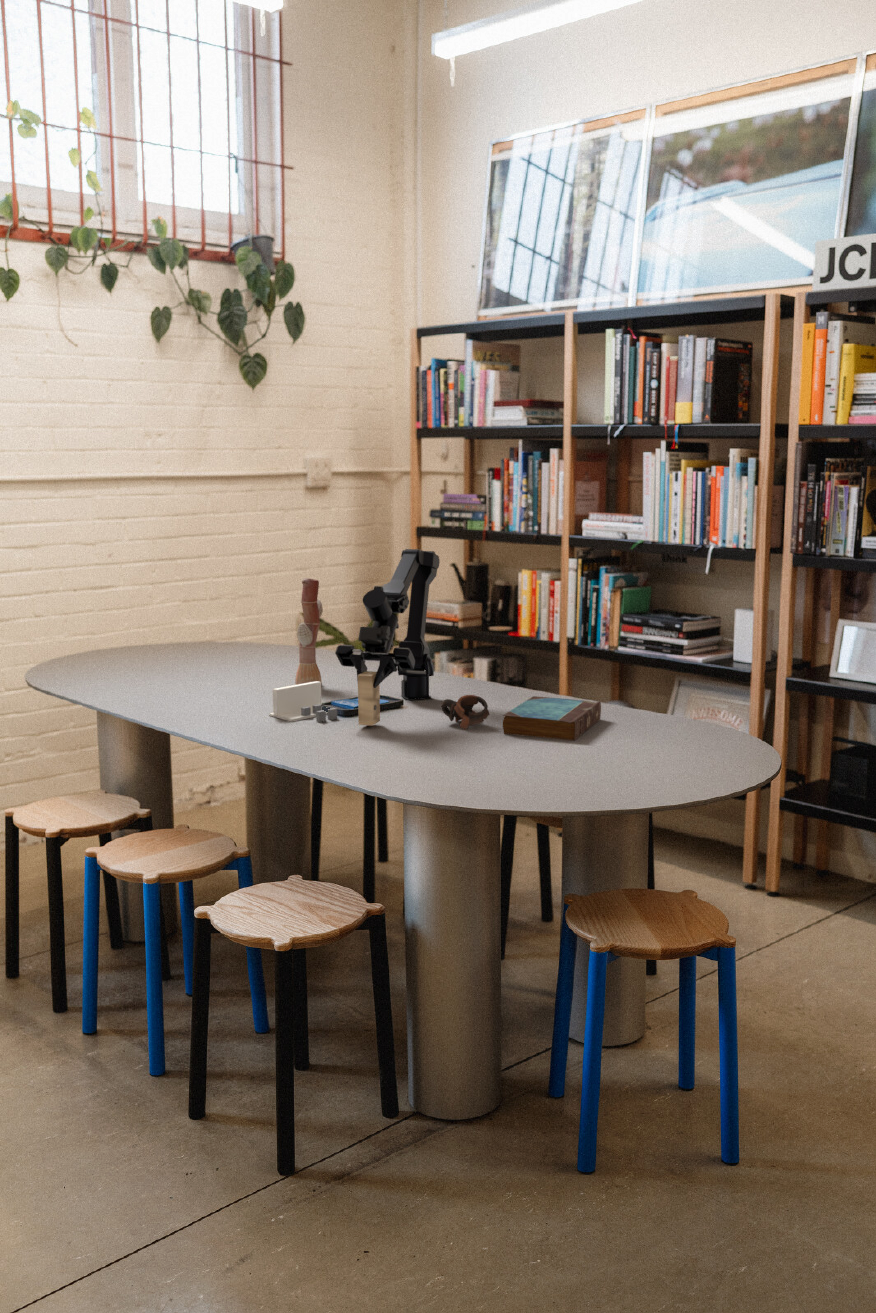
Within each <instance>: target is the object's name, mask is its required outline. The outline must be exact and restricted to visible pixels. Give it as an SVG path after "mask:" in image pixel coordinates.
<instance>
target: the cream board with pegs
mask: <svg viewBox="0 0 876 1313" xmlns="http://www.w3.org/2000/svg"><path fill="white" fill-rule="evenodd" d="M272 707H273V708H272V709H273V711H272V712H270V713H268V716H269V715H270V716H269V717H272V716H273V718H277V719H281V720H284V721H289V722H296V721H302V720H306V719H307V720H308V719H311V718H316V719H315V720H316V723H317V722H318V723H322V721H323V722H326V721H327V720H330V719H331V721H332V719H333V720H337V719H338V708H337V707H331V708H330V709H328V712H326V711H324V710H322V707H323V704H322V685H321V682H319V681H314V682H309V683H304V684H298V685H295V684H292V685H287V686H282V687H277V688H272ZM327 713H328V714H327Z"/></svg>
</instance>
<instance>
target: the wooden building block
mask: <svg viewBox="0 0 876 1313" xmlns="http://www.w3.org/2000/svg"><path fill="white" fill-rule="evenodd" d="M376 673H377V671H369V670H367V671H365V672H363V673H361V674H359V675H358V681H357V705H358V706H357V707H358V725H359V726H369V727H370V726H374V725H376V724H377V723H380V722H381V700H380V698H381V696H380V691H381V690H380V689H381V688H380V686H381V685H380V684H379V685H378V686H377V687H376V688H374V687H373V683H374V679H375V676H376Z"/></svg>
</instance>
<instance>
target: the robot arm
mask: <svg viewBox="0 0 876 1313" xmlns="http://www.w3.org/2000/svg"><path fill="white" fill-rule="evenodd" d="M440 561H441V559H440V556H439V554H436V552H435V551H433V550H421V549H419V548H418V549H417V548H405V549H403V550H402V551H401V557H400V560H399V562H398V565H397V566H396V569H395V570H394V573H393V575H392V577H391V579H390V581H389V582H387V583H385V584H383V585H382V586H380V585H376V586H374V587H373V589H372V590H369V591H368V592H366V593H365V595H363V598H362V603H363V605H364V609H365V610H366V612H367V614H368V617H369V618H370V620H372V621H373V623H372V626H360V627H359V633H358V641H359V642H361V647H362V649H356V648H355V646H354V645H353V644H338V645H337V647H336V650H335V652H334V653H335V655H336V658H337V660H338V661H339V663H340V665H341V666H342V667H349V668H351V667H352V668H353V667H354V668H355V670H356V679H357V682H358V675H359V674H361V673H363V672H365V671H368V667H367V665H366V661H369V662H370V661H371V662H379V663H378V664H379V666H378V668H377V671H376V672H377V673H376V676H375V679H374V683H373V687H374V688H376V687H377V686H378V685H379V686H380V684H382V683H383V681H384V680H385V679H387V678H388V677H389V676H390V675H391V674H393V673H395V672H397V674H398V676H402V677H403V678H402V679H401V681H400V682H401V687H400V688H401V689H400V692H401V695H400V696H401V697H402V698H404V699H406V700H408V701H416V700H418V701H419V700H431V699H432V696H431V695H430V677H433V676H435V675H434V672H435V664H434V662H433V659H432V657H431V655H430V647H429V645H428V644H427V641H426V639H425V638H426V623H427V614H428V605H429V604H428V603H429V592H430V585H431V584H432V582H433V581H434V580H435V578H436V577H437V574H438V573H437V572H438V569H439V567H440V563H441V562H440ZM410 586H411V587H410ZM409 588H410V598H409V596H408V590H409ZM408 607H409V608H408ZM407 609H408V620H407V628H406V629H407V630H406V636H405V638H404V639H403V640H401V641H400V642H399V644H398V647H394V642H393V640H394V637H395V633H396V630H398V629H399V627H400V626H399V618H398V616H397V614H404V613H405V611H406V610H407ZM391 648H393V651H392V652H391ZM363 649H364V650H363Z"/></svg>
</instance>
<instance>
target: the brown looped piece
mask: <svg viewBox="0 0 876 1313" xmlns="http://www.w3.org/2000/svg"><path fill="white" fill-rule="evenodd" d="M478 703H480V704H481V706H482V707H483V709H482V710H480V711H478V712H476V711H475V710H473V708H474V706H475V705H477V704H478ZM488 708H489V707H488V703H487V701H486V700H485V699H484V698H483V697H480V696H478V695H474V694H465V695H462V696H460V697H459V698H458V700H457V701H455V700H452V699H444V700H443V701H442V702H441V705H440V709H441V711H442V712H443V714H444V715H445V716H447V717H448V718H449V720H450V722H453V721H454V720H455V722H456V723H458V722H459V721H461V722H460V724H459V727H460V728H461V729H463V730H467V729H468V727H471V726H475V725H477V724H481V723H482V722H484V721H485V720H486V719H487V718H488V716H491V713H490V711H489V709H488Z"/></svg>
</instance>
